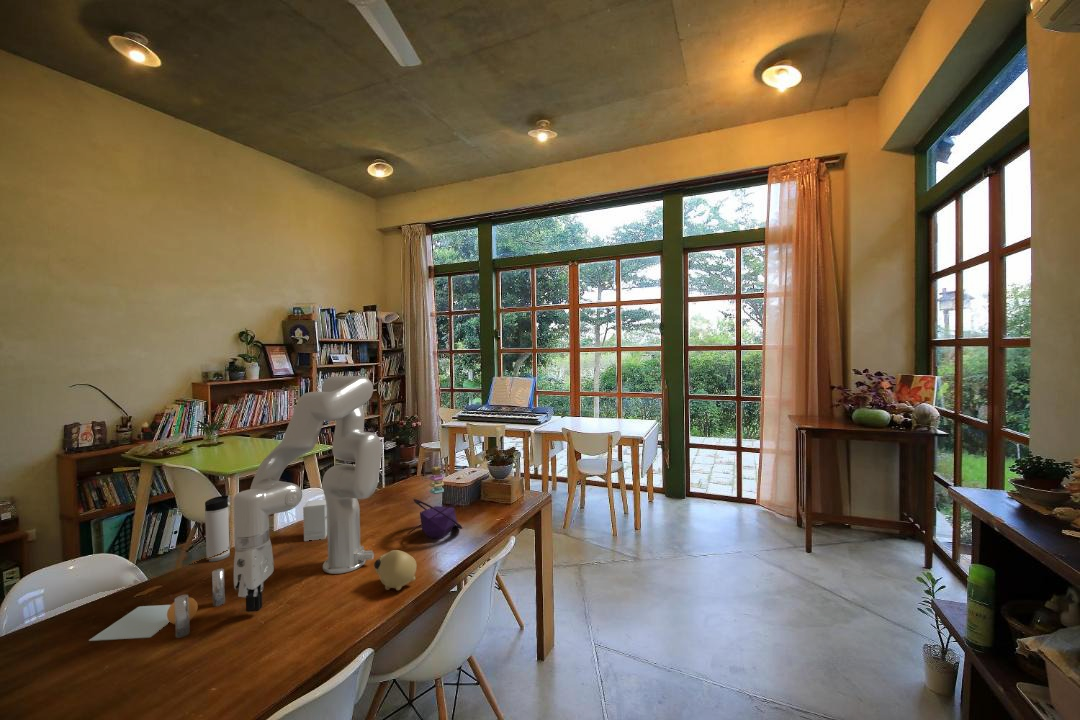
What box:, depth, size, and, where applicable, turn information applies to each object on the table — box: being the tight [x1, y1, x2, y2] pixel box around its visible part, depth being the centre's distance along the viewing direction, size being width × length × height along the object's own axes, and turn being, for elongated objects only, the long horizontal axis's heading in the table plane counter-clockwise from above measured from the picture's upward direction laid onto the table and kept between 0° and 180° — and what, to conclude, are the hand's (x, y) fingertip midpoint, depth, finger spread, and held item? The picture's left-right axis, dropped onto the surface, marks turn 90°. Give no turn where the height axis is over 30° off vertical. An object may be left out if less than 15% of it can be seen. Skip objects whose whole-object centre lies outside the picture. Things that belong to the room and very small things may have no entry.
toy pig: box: [373, 549, 417, 591], centre depth 126 cm, size 10×12×11 cm
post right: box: [211, 568, 226, 607], centre depth 119 cm, size 3×3×9 cm
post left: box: [174, 594, 191, 639], centre depth 106 cm, size 3×3×9 cm
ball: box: [167, 596, 199, 625], centre depth 111 cm, size 6×6×6 cm
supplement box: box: [302, 499, 327, 542], centre depth 163 cm, size 7×7×13 cm
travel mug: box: [204, 494, 231, 562], centre depth 147 cm, size 6×7×20 cm
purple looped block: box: [406, 466, 467, 539], centre depth 161 cm, size 22×21×25 cm
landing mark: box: [88, 604, 172, 642], centre depth 112 cm, size 14×14×1 cm
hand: (254, 609), depth 113 cm, fingers closed
